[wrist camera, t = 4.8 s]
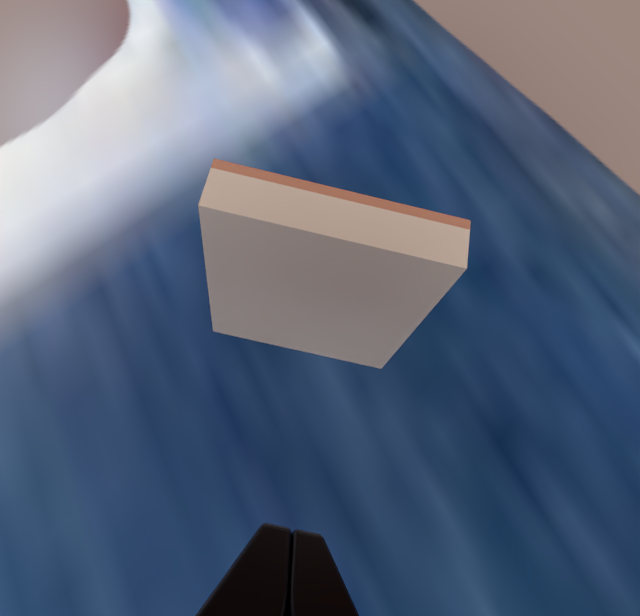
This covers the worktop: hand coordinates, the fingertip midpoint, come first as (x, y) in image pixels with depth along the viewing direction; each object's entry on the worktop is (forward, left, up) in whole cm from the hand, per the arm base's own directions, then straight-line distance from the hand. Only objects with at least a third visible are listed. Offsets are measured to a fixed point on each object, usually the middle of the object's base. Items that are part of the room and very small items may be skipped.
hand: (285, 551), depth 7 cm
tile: (+6, -6, -12) cm, 15 cm away
